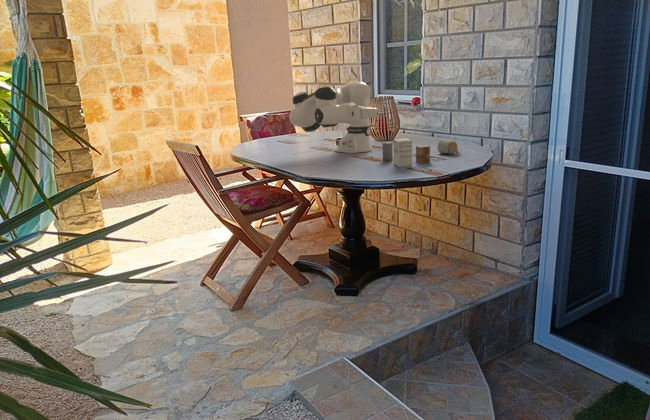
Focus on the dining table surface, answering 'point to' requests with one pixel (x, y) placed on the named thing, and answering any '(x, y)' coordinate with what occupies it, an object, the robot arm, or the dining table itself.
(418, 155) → the walnut block
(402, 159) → the supplement box
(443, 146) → the ceramic mug
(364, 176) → the dining table surface
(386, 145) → the grey rounded cylinder
